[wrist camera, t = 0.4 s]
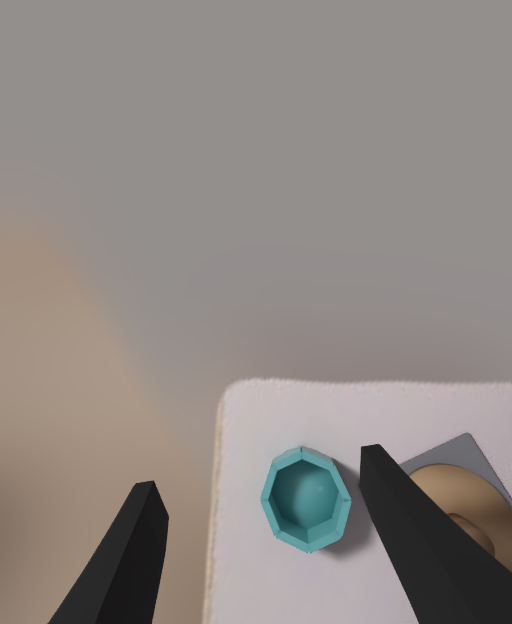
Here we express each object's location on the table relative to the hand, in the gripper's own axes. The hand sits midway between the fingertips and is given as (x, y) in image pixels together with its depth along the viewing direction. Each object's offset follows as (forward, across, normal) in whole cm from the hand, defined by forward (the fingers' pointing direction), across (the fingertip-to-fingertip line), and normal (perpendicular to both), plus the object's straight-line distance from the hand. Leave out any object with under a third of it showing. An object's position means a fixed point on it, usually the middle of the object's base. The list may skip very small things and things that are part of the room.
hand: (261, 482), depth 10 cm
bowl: (+16, -4, +25) cm, 30 cm away
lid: (+10, -19, +27) cm, 34 cm away
